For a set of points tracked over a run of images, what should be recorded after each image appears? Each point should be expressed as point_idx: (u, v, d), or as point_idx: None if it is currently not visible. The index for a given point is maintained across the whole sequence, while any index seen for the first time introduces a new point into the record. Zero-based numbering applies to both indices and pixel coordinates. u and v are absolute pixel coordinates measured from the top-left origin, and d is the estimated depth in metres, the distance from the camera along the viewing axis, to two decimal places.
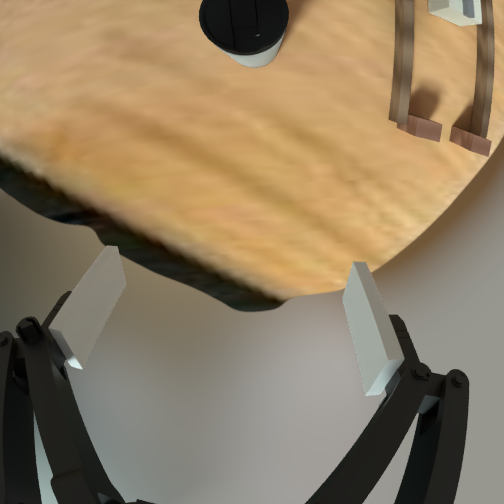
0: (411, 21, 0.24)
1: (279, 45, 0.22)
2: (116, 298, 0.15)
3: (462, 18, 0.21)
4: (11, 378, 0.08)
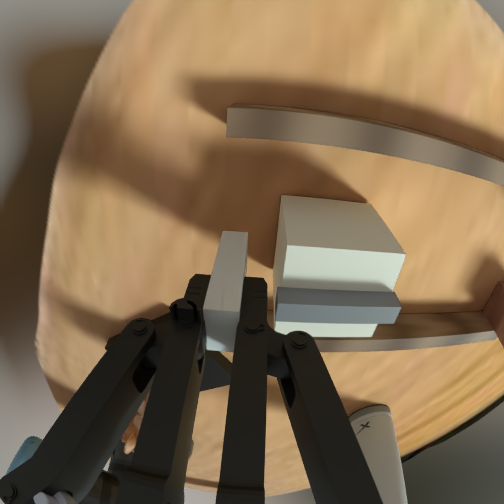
0: (383, 342, 0.21)
1: (399, 481, 0.23)
2: None
3: None
4: (130, 375, 0.09)
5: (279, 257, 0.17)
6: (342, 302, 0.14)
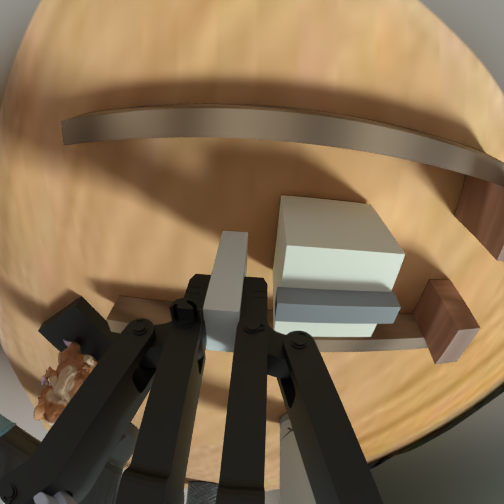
0: None
1: None
2: None
3: None
4: (130, 374, 0.09)
5: (279, 257, 0.17)
6: (341, 302, 0.14)
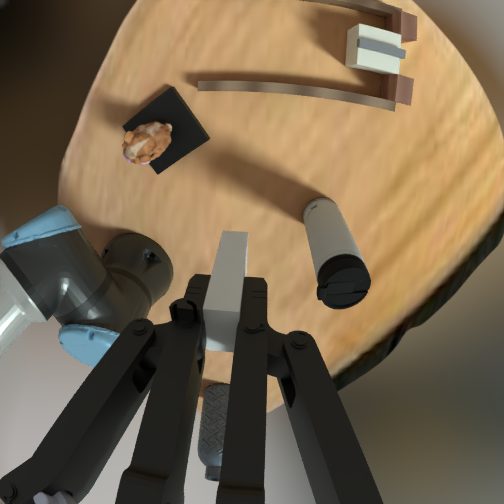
0: (291, 86, 0.35)
1: (349, 236, 0.37)
2: None
3: None
4: (130, 375, 0.09)
5: (352, 42, 0.30)
6: (382, 44, 0.27)
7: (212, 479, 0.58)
